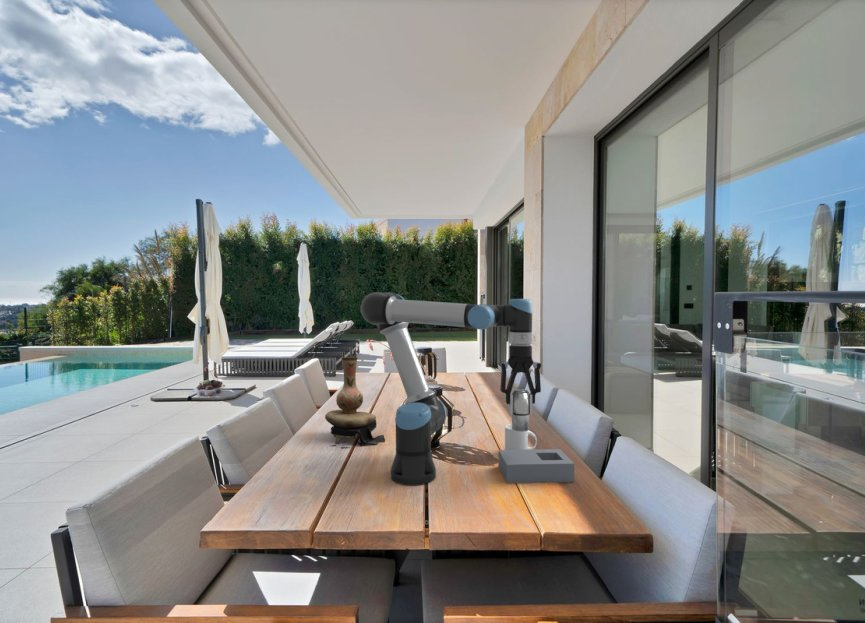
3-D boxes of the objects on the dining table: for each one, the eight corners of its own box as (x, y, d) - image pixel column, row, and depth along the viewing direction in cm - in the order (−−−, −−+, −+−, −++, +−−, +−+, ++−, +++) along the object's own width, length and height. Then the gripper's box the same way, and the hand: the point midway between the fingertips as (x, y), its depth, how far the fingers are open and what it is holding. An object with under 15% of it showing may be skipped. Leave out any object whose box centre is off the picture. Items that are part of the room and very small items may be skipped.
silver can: (513, 431, 146) (513, 392, 146) (509, 426, 152) (509, 388, 152) (531, 431, 146) (531, 392, 146) (526, 426, 152) (526, 388, 152)
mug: (538, 459, 164) (538, 430, 163) (505, 458, 165) (505, 429, 165) (535, 451, 172) (535, 424, 172) (504, 450, 173) (504, 423, 173)
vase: (376, 429, 203) (375, 353, 202) (387, 444, 182) (386, 359, 181) (323, 434, 195) (323, 355, 195) (328, 450, 174) (328, 361, 173)
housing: (506, 483, 142) (506, 464, 142) (498, 467, 156) (498, 450, 156) (574, 481, 143) (574, 463, 143) (559, 466, 157) (559, 449, 157)
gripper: (494, 346, 144) (494, 416, 145) (551, 345, 145) (551, 415, 146) (490, 343, 152) (490, 411, 152) (544, 343, 153) (544, 410, 153)
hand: (520, 413), depth 149 cm, fingers closed on silver can, 6 cm apart
